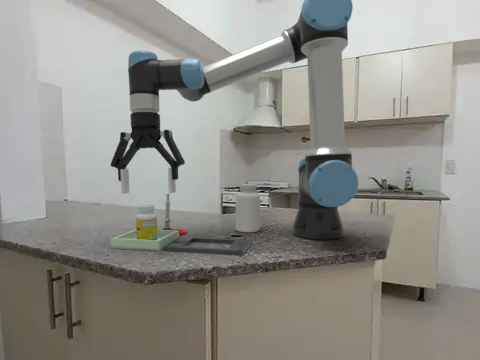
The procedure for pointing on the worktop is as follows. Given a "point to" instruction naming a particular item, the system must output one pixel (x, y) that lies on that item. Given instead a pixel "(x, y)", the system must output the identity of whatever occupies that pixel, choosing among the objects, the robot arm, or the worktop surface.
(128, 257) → the worktop surface
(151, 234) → the supplement bottle
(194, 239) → the dark grey slotted board
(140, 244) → the tray
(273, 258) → the worktop surface
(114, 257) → the worktop surface
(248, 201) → the pill bottle
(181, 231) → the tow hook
